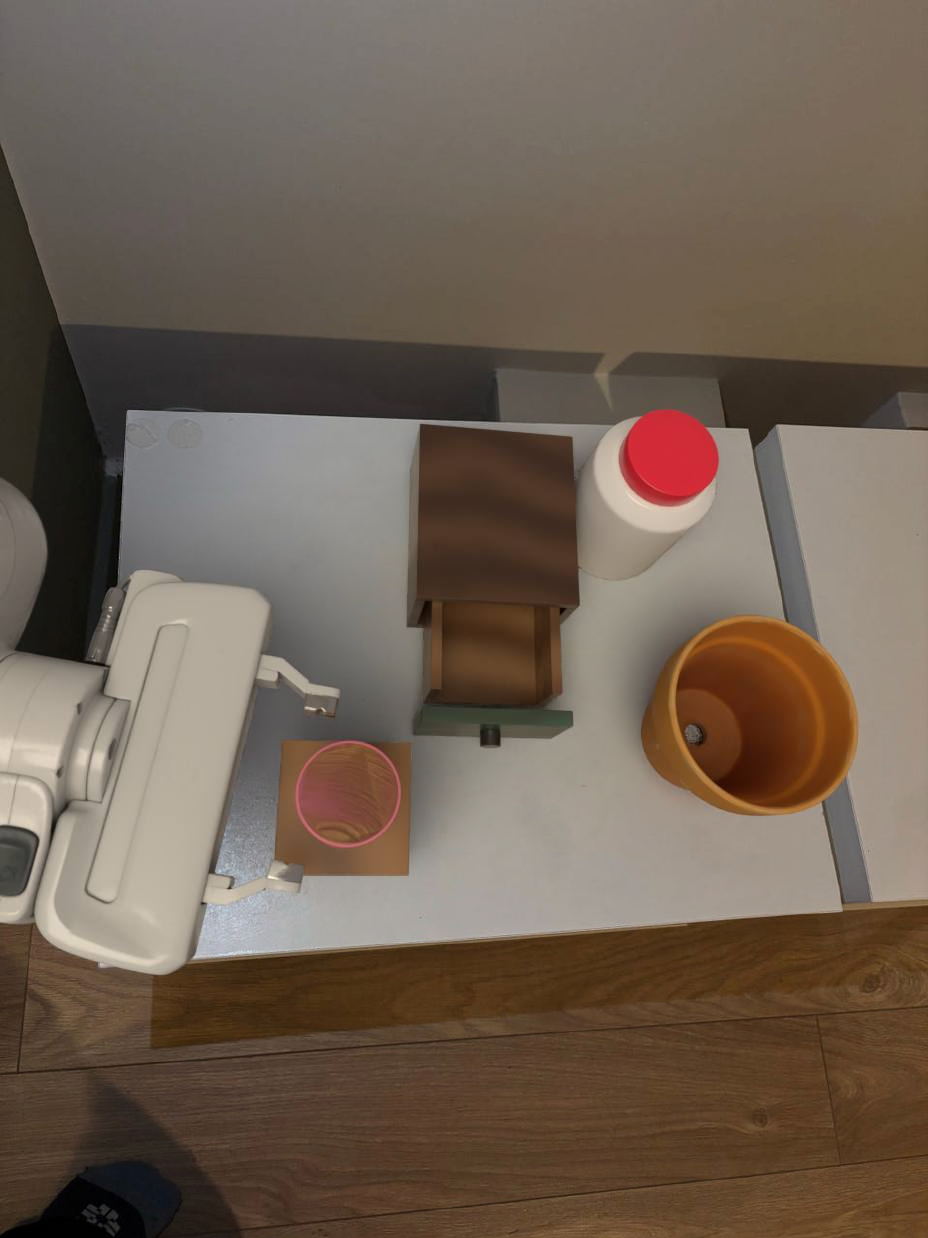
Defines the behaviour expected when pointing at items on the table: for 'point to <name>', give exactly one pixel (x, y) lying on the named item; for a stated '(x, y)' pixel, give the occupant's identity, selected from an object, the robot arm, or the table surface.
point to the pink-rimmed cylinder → (348, 794)
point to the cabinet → (492, 520)
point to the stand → (321, 860)
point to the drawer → (491, 672)
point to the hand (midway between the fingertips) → (321, 788)
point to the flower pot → (753, 718)
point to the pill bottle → (643, 492)
